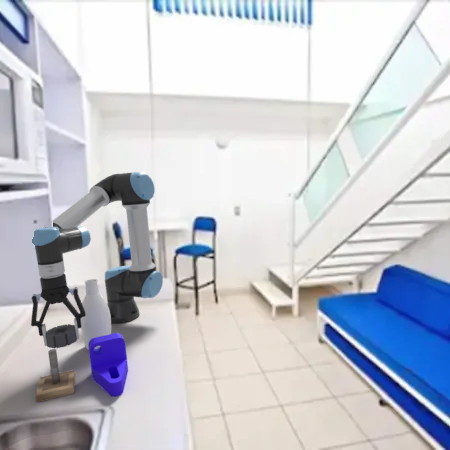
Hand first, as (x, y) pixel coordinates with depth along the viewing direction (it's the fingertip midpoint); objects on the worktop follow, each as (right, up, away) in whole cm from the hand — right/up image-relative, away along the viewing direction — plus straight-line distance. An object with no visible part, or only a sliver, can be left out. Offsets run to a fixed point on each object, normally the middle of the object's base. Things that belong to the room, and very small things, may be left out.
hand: (62, 340), depth 124 cm
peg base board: (+3, -11, -10) cm, 15 cm away
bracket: (+19, -10, -8) cm, 23 cm away
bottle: (+6, -8, +18) cm, 21 cm away
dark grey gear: (0, 0, 0) cm, 0 cm away
